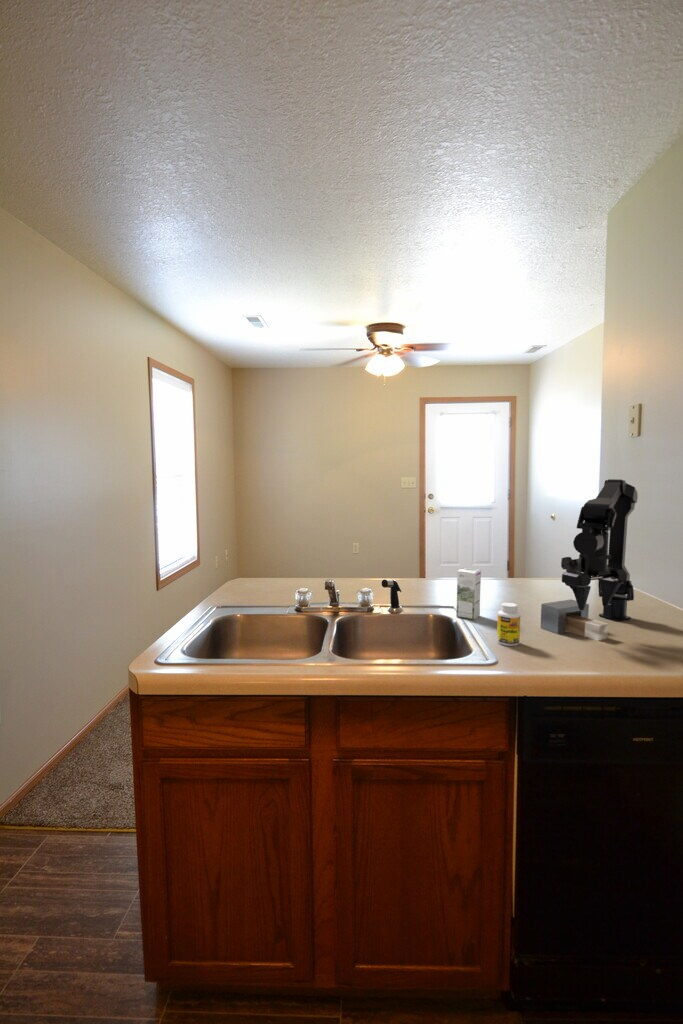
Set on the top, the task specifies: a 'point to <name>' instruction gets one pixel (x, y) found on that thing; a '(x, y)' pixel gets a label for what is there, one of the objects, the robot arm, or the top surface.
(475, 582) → the syrup box
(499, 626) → the supplement bottle
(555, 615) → the grey u-shaped block
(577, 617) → the plug rod
